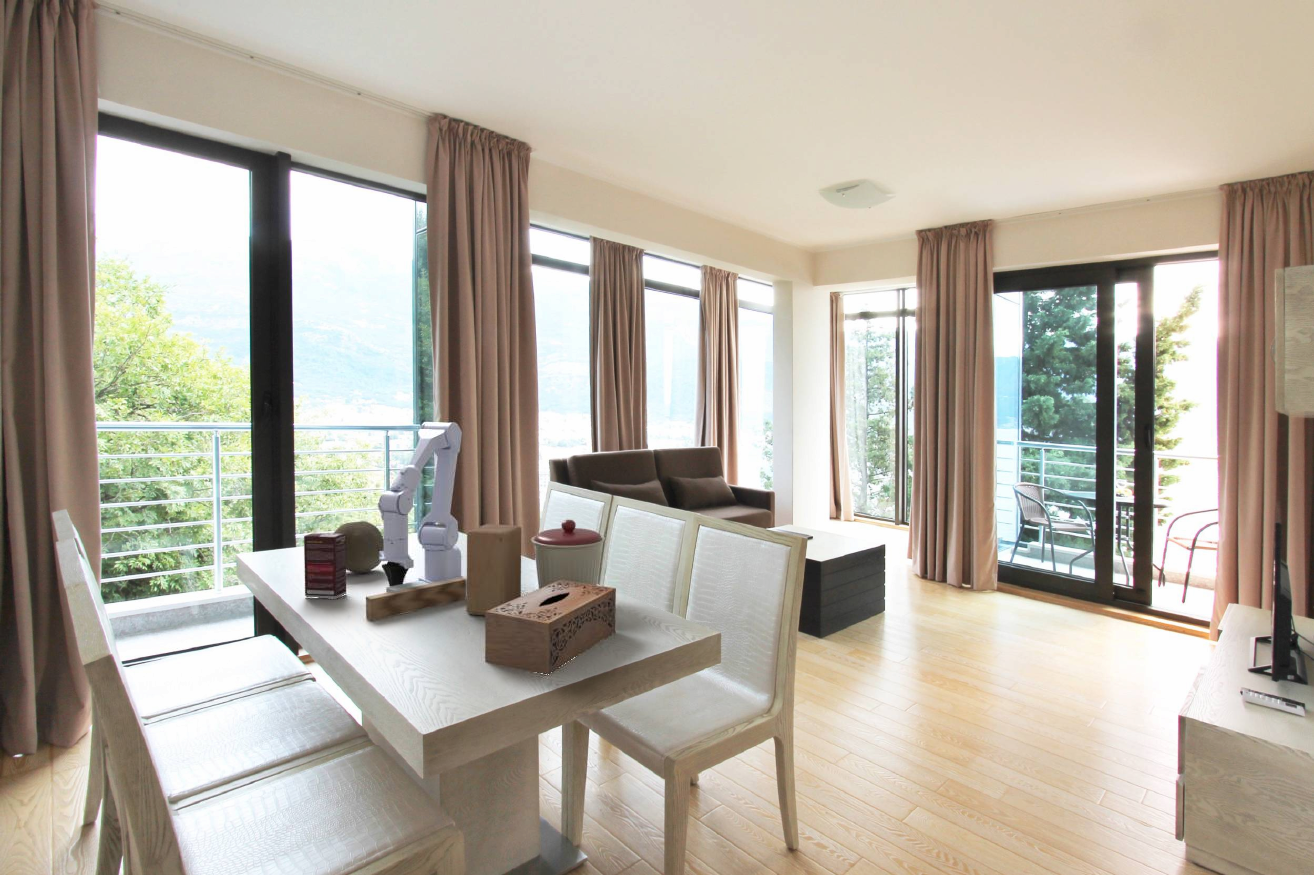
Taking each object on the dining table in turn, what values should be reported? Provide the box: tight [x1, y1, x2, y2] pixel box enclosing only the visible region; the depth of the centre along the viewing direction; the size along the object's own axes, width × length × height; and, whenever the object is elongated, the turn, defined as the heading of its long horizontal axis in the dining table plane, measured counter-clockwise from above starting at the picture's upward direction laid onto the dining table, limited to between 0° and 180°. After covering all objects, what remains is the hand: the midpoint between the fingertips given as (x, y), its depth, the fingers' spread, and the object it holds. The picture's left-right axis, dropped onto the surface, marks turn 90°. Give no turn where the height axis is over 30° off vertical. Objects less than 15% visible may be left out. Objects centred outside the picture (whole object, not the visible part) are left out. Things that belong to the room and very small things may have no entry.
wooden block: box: [466, 523, 522, 617], centre depth 154 cm, size 10×10×20 cm
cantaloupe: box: [333, 520, 384, 574], centre depth 185 cm, size 14×14×15 cm
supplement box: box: [303, 532, 347, 600], centre depth 162 cm, size 9×5×16 cm, turn 84°
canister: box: [530, 519, 606, 589], centre depth 160 cm, size 18×18×21 cm
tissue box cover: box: [484, 580, 617, 676], centre depth 132 cm, size 26×14×10 cm, turn 155°
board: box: [365, 578, 467, 622], centre depth 155 cm, size 24×2×5 cm, turn 137°
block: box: [385, 580, 430, 593], centre depth 158 cm, size 9×7×4 cm
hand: (396, 591), depth 163 cm, fingers closed
